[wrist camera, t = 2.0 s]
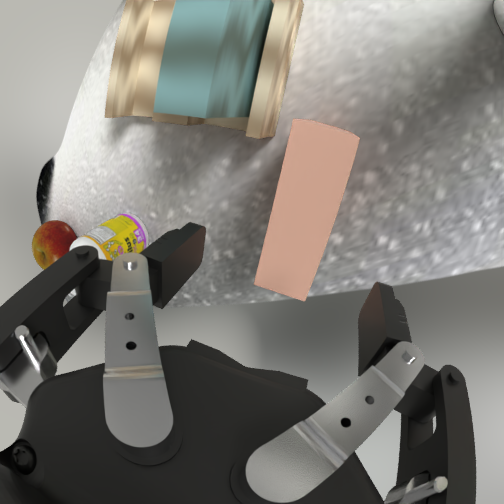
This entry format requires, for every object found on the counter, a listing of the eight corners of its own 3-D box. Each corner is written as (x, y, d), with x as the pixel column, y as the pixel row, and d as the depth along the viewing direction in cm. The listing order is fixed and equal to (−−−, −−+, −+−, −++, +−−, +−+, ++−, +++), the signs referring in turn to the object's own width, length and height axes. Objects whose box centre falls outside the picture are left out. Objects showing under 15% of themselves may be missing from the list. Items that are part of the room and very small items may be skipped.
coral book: (309, 119, 24) (293, 118, 14) (350, 131, 23) (360, 138, 14) (282, 228, 30) (253, 284, 21) (317, 239, 29) (304, 301, 20)
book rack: (152, 5, 21) (84, -17, 11) (303, 4, 18) (280, -54, 8) (131, 114, 28) (57, 125, 19) (274, 136, 25) (233, 147, 16)
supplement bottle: (148, 261, 38) (89, 313, 27) (115, 242, 39) (55, 286, 28) (154, 221, 34) (85, 270, 24) (117, 203, 35) (48, 243, 24)
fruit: (92, 244, 41) (59, 267, 34) (79, 269, 45) (50, 290, 38) (62, 203, 39) (28, 221, 32) (52, 232, 44) (23, 250, 37)
